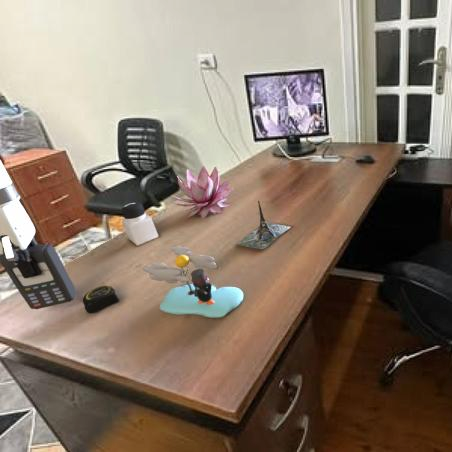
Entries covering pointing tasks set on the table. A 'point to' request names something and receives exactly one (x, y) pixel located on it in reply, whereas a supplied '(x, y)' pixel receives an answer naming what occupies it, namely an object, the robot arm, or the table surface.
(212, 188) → the decorative flower
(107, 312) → the table surface
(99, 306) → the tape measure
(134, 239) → the medicine bottle
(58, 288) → the card reader
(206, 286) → the penguin figurine
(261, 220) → the eiffel tower figurine
